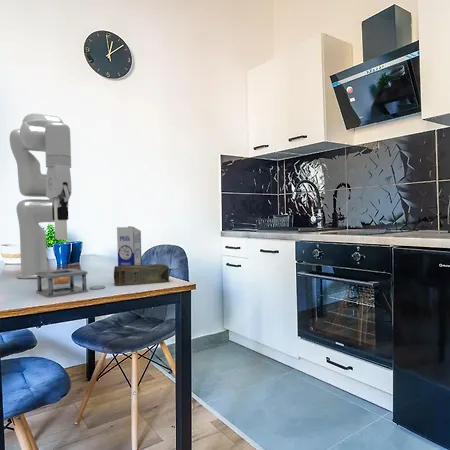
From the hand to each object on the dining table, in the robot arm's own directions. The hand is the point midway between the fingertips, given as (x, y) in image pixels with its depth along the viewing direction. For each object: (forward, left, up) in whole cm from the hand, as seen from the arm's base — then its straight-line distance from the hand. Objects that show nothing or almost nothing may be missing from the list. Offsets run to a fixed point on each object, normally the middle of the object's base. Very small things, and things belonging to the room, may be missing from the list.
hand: (60, 219), depth 122 cm
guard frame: (0, 0, -23) cm, 23 cm away
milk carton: (-10, +30, -24) cm, 39 cm away
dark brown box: (+5, +26, -24) cm, 36 cm away
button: (0, 0, -21) cm, 21 cm away
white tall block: (0, 0, -6) cm, 6 cm away
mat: (+3, +10, -23) cm, 26 cm away
